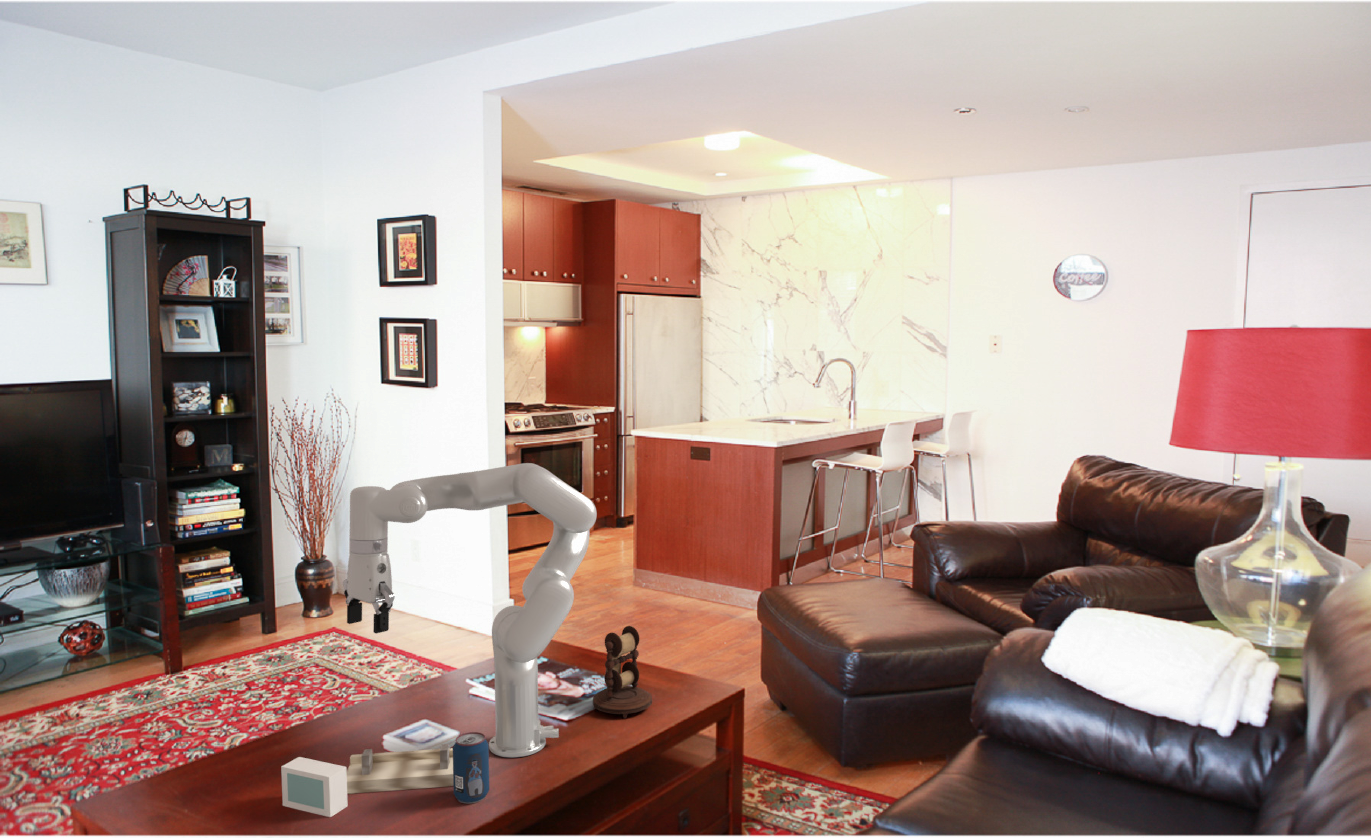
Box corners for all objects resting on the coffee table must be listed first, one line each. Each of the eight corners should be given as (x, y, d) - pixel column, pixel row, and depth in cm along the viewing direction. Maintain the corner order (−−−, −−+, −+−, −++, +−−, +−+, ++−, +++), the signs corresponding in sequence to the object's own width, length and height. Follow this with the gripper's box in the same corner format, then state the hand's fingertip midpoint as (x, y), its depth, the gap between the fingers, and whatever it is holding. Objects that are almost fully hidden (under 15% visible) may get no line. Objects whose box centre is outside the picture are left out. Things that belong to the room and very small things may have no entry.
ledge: (468, 765, 188) (467, 735, 188) (464, 785, 179) (463, 754, 179) (351, 773, 185) (350, 743, 184) (341, 794, 176) (340, 762, 175)
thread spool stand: (619, 692, 229) (618, 617, 228) (663, 705, 221) (663, 627, 219) (580, 710, 217) (579, 631, 216) (626, 725, 209) (625, 642, 207)
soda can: (471, 785, 179) (470, 728, 179) (496, 793, 176) (495, 735, 175) (446, 799, 173) (444, 740, 173) (472, 808, 170) (470, 748, 169)
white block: (347, 806, 171) (346, 766, 171) (330, 817, 167) (328, 777, 166) (300, 795, 176) (299, 756, 175) (282, 806, 171) (281, 766, 171)
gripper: (408, 549, 180) (407, 631, 181) (361, 538, 191) (360, 615, 192) (376, 555, 174) (375, 639, 175) (329, 542, 185) (328, 622, 186)
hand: (367, 627), depth 183 cm, fingers open, 9 cm apart
